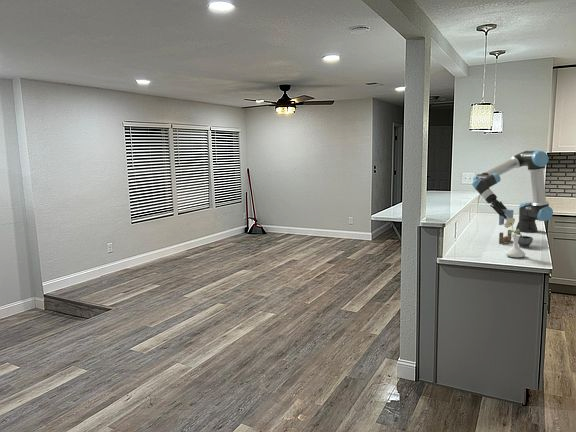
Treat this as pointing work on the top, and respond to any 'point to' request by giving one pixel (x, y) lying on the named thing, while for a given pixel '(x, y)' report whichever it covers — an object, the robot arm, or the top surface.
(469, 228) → the top surface
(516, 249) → the flower in vase
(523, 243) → the mortar and pestle
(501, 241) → the wooden drawer pull
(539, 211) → the robot arm
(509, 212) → the slotted block
